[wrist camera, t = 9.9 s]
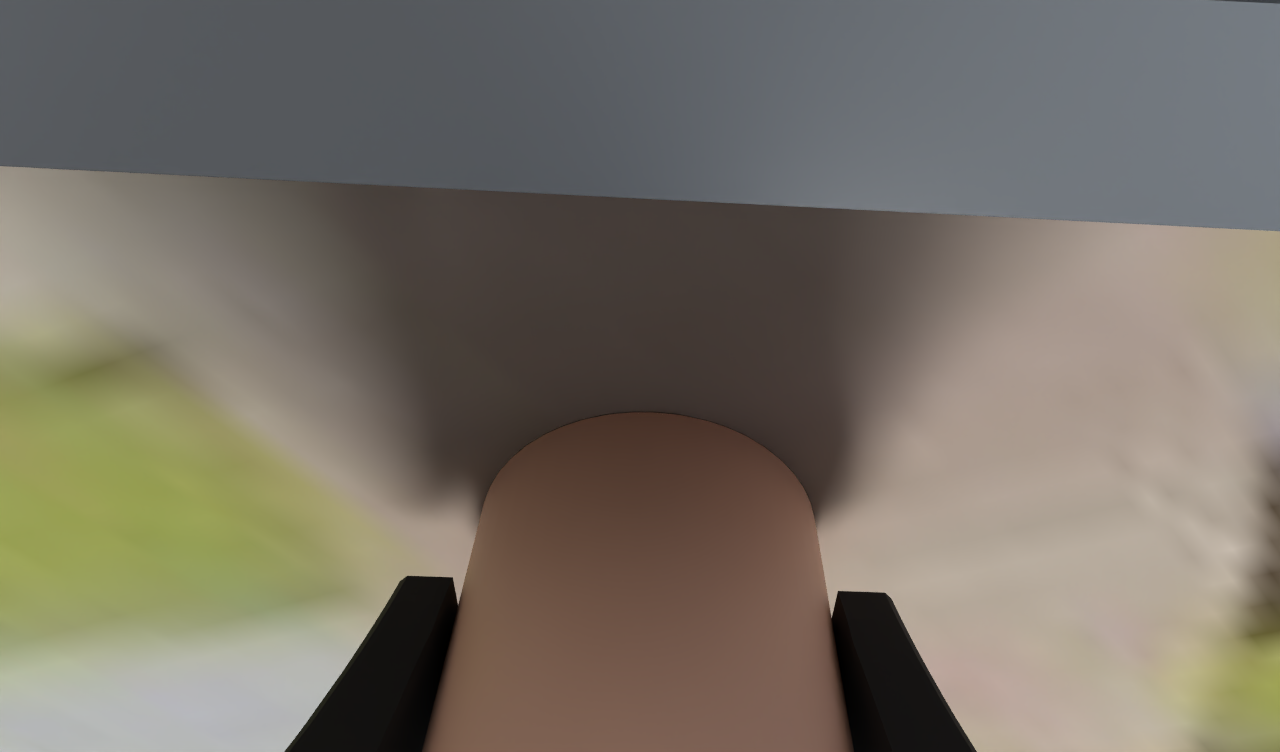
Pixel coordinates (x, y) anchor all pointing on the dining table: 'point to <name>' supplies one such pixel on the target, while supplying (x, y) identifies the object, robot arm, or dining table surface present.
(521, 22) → the tote
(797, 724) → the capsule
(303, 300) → the dining table surface
